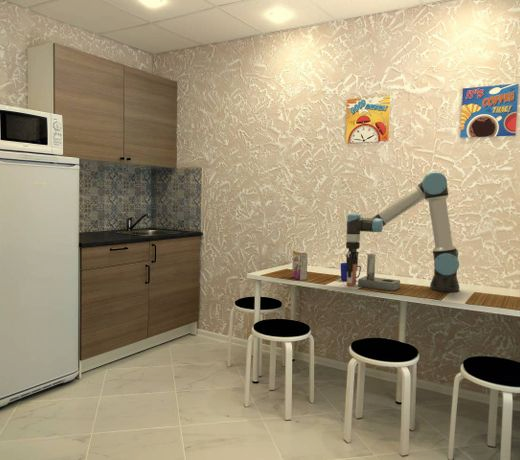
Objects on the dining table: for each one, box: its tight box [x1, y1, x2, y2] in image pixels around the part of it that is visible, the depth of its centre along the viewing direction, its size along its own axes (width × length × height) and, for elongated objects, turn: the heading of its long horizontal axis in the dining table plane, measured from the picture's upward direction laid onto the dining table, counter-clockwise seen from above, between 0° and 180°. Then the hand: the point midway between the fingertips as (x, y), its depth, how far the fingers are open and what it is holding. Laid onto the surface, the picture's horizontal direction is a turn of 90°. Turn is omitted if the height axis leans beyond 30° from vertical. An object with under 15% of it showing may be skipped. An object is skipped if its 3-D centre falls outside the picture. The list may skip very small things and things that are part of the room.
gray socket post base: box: [357, 253, 401, 292], centre depth 258 cm, size 20×12×18 cm, turn 58°
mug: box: [340, 262, 362, 282], centre depth 275 cm, size 8×12×10 cm
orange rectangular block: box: [346, 264, 358, 287], centre depth 260 cm, size 4×4×12 cm
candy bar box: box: [291, 250, 309, 281], centre depth 277 cm, size 11×5×16 cm, turn 22°
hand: (351, 282), depth 260 cm, fingers open, 4 cm apart
